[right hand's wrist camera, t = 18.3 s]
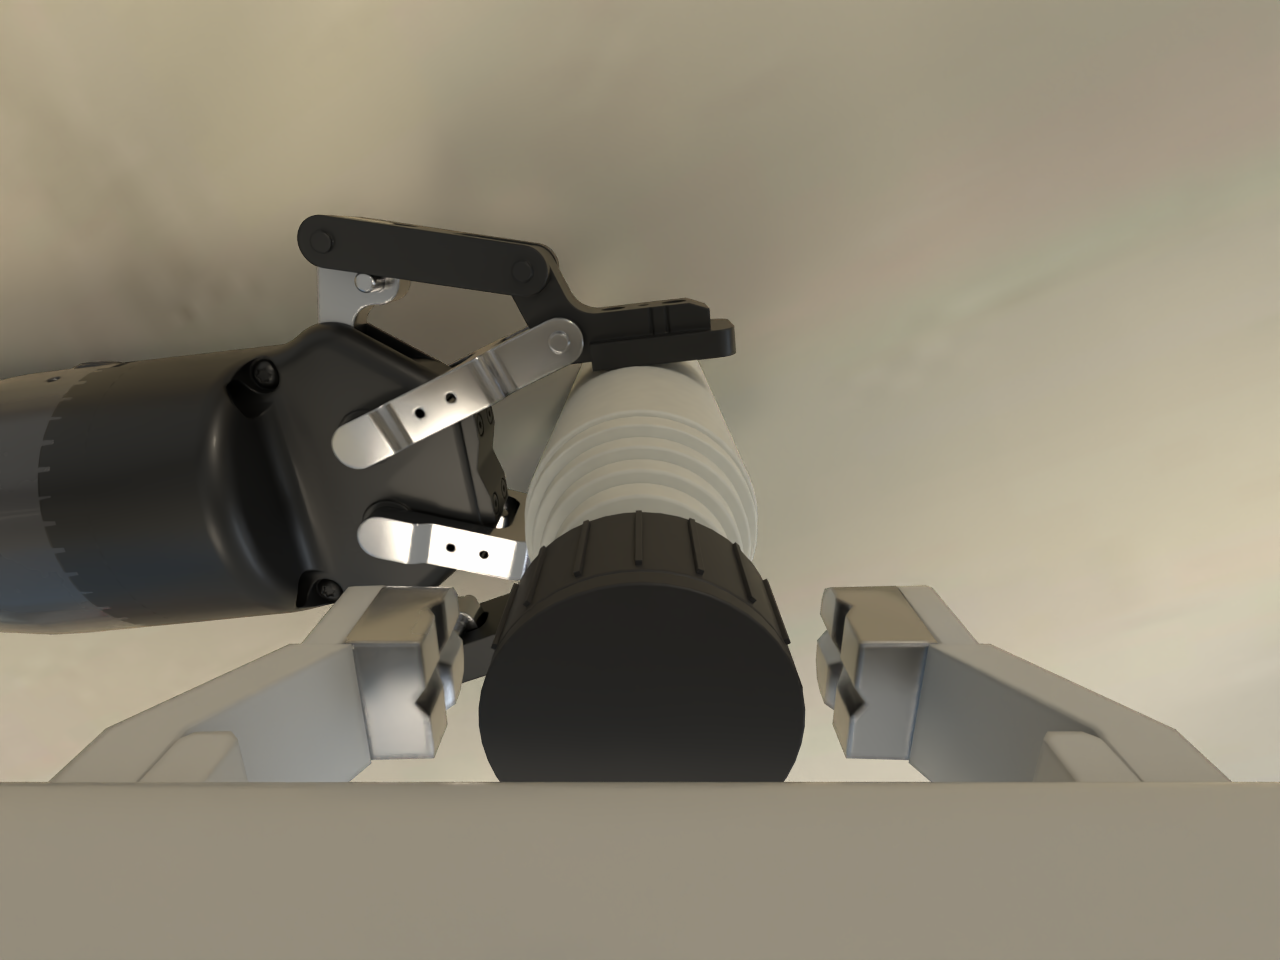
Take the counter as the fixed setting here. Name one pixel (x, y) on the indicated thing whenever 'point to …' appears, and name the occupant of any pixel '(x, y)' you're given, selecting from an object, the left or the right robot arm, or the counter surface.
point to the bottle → (641, 456)
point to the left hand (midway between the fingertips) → (734, 432)
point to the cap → (641, 662)
